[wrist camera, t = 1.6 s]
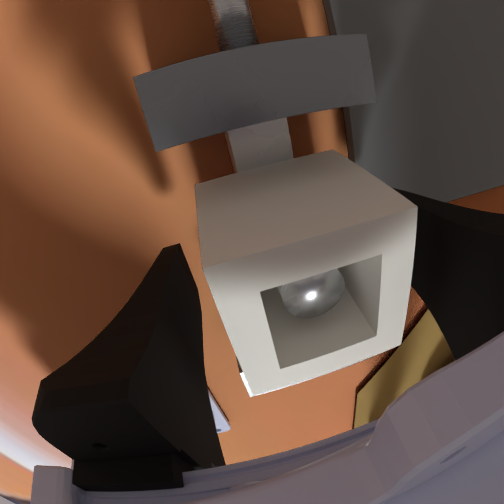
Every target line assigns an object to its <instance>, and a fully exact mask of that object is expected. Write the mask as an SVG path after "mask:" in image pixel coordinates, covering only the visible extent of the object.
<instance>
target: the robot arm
mask: <svg viewBox="0 0 504 504" xmlns="http://www.w3.org/2000/svg"><path fill="white" fill-rule="evenodd" d="M393 189H394V190H395V191H397V192H398V193H400V194H401V195H402V196H404V197H405V198H407V199H408V200H409V201H411V202H412V203H413V204H415V205H416V206H417V207H418V211H417V228H416V241H415V252H414V262H413V271H412V279H411V286H412V287H413V288H414V290H415V291H416V292H417V293H418V295H419V296H420V297H421V299H422V300H423V301H424V303H425V304H426V306H427V307H428V309H429V311H430V312H431V314H432V316H433V317H434V319H435V321H436V322H437V324H438V326H439V328H440V330H441V332H442V333H443V335H444V337H445V339H446V341H447V343H448V345H449V347H450V350H451V352H452V354H453V356H454V358H455V361H454V362H452V363H450V364H449V365H447V366H445V367H443V368H441V369H439V370H437V371H435V372H434V373H432V374H430V375H429V376H427V377H426V378H424V379H423V380H421V381H419V382H418V383H416V384H415V385H413V386H411V387H410V388H408V389H407V390H406V391H405V392H404V393H403V394H401V395H400V396H399V397H398V398H397V399H396V400H394V401H393V402H392V403H391V404H390V405H388V407H387V408H386V410H385V411H384V413H383V414H382V416H381V417H380V418H379V419H377V420H374V421H372V422H370V423H367V424H365V425H362V426H360V427H357V428H354V429H352V430H349V431H347V432H344V433H341V434H338V435H336V436H333V437H330V438H327V439H324V440H321V441H318V442H315V443H312V444H309V445H305V446H302V447H299V448H295V449H292V450H288V451H285V452H281V453H277V454H274V455H270V456H266V457H262V458H258V459H253V460H249V461H244V462H240V463H235V464H230V465H226V464H225V461H224V457H223V453H222V450H221V446H220V442H219V438H218V434H217V433H221V432H225V431H228V430H230V429H231V426H230V423H229V421H228V420H227V418H226V417H225V415H224V414H223V412H222V411H221V409H220V407H219V406H218V404H217V403H216V401H215V399H214V398H213V396H212V395H211V393H210V391H209V390H208V387H207V382H206V376H205V368H204V354H203V332H202V311H201V305H200V299H199V294H198V288H197V286H196V283H195V281H194V278H193V276H192V273H191V271H190V268H189V266H188V263H187V261H186V258H185V256H184V253H183V250H182V248H181V245H180V243H179V244H176V245H172V246H169V247H165V248H163V249H162V251H161V252H160V254H159V255H158V257H157V258H156V260H155V262H154V263H153V265H152V267H151V268H150V270H149V271H148V273H147V274H146V276H145V278H144V279H143V281H142V282H141V284H140V285H139V286H138V288H137V289H136V291H135V292H134V294H133V295H132V296H131V298H130V299H129V301H128V302H127V303H126V305H125V306H124V307H123V308H122V310H121V311H120V312H119V313H118V314H117V316H116V317H115V318H114V319H113V320H112V321H111V322H110V324H109V325H108V326H107V327H106V328H105V329H104V330H103V331H102V332H101V333H100V334H99V335H98V336H97V337H96V338H95V339H94V340H93V341H92V342H91V343H89V344H88V345H87V346H86V347H85V348H84V349H83V350H82V351H80V352H79V353H78V354H77V355H76V356H74V357H73V358H72V359H71V360H69V361H68V362H67V363H66V364H64V365H63V366H61V367H60V368H59V369H57V370H56V371H54V372H53V373H51V374H50V375H49V376H47V377H46V378H44V379H43V380H41V382H40V386H39V390H38V394H37V398H36V402H35V406H34V411H33V415H32V423H33V426H34V427H35V429H36V430H37V432H38V433H39V434H40V435H41V436H42V437H43V438H44V439H45V440H46V441H48V442H49V443H50V444H52V445H53V446H54V447H56V448H57V449H59V450H60V451H61V452H63V453H64V454H66V455H67V456H69V457H70V458H72V467H71V469H70V468H66V467H60V466H40V465H36V466H34V473H33V482H32V492H31V504H504V214H498V213H491V212H485V211H479V210H475V209H470V208H465V207H461V206H457V205H453V204H449V203H446V202H442V201H439V200H435V199H432V198H428V197H425V196H422V195H418V194H415V193H411V192H408V191H404V190H400V189H396V188H393Z"/></svg>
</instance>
